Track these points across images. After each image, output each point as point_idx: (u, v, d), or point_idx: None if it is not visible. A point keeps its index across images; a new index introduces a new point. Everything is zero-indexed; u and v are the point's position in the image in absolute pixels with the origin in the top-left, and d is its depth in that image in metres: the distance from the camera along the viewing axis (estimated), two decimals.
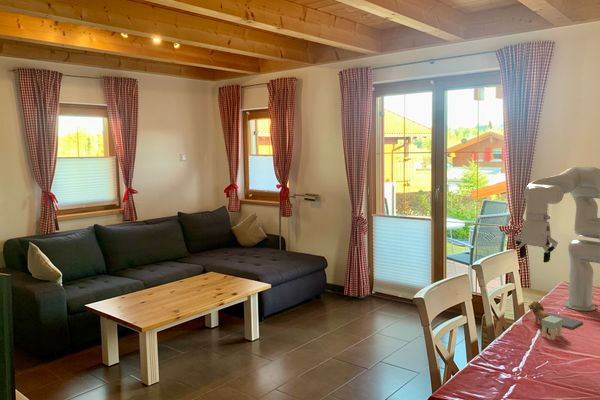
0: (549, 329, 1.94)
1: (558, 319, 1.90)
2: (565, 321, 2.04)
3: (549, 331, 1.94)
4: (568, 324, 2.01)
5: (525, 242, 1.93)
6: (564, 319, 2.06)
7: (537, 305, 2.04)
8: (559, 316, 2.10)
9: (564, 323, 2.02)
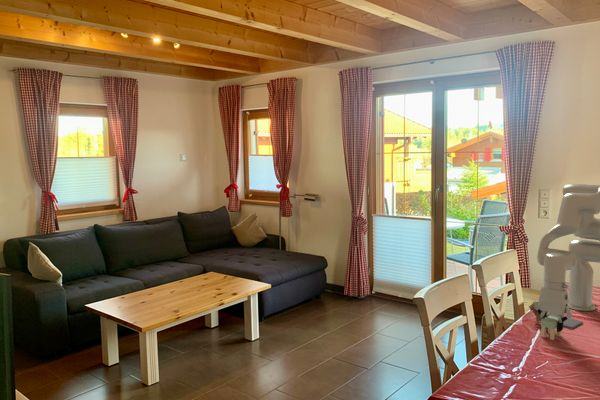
0: (549, 329, 1.94)
1: (557, 319, 1.90)
2: (565, 321, 2.04)
3: (549, 331, 1.94)
4: (568, 324, 2.01)
5: (543, 309, 1.91)
6: None
7: None
8: None
9: (564, 323, 2.02)
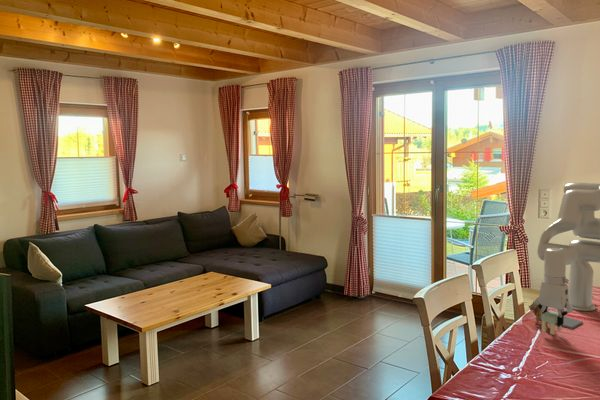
0: (549, 324, 1.94)
1: (558, 314, 1.90)
2: (565, 321, 2.04)
3: (549, 326, 1.94)
4: (568, 324, 2.01)
5: (543, 303, 1.92)
6: (564, 319, 2.06)
7: (537, 305, 2.04)
8: None
9: (564, 323, 2.02)
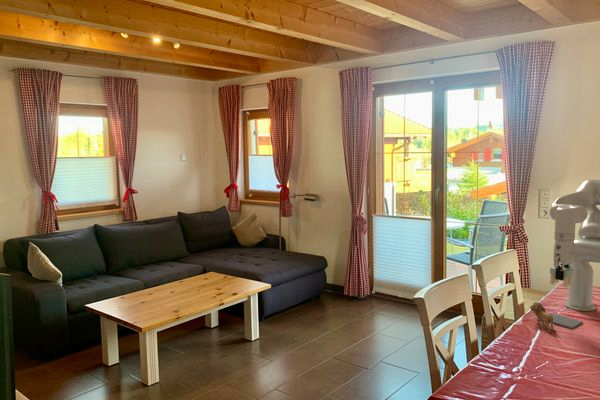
0: None
1: (563, 269, 2.02)
2: (565, 321, 2.04)
3: None
4: (568, 324, 2.01)
5: None
6: (564, 319, 2.06)
7: (539, 306, 2.03)
8: (559, 316, 2.10)
9: (564, 323, 2.02)
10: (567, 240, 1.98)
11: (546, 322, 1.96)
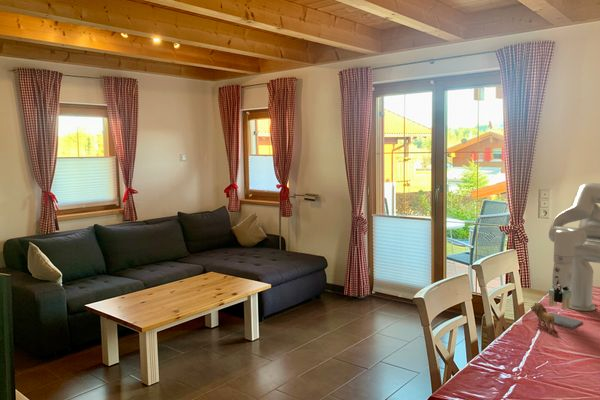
0: None
1: None
2: (565, 321, 2.04)
3: None
4: (568, 324, 2.01)
5: None
6: (564, 319, 2.06)
7: (540, 307, 2.02)
8: (559, 316, 2.10)
9: (564, 323, 2.02)
10: (566, 263, 2.00)
11: (547, 323, 1.96)
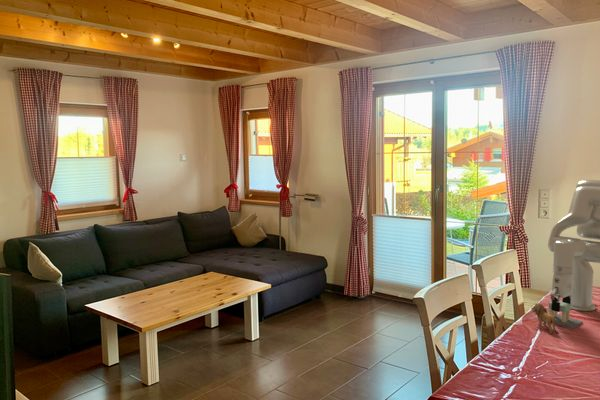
0: None
1: (561, 305, 2.04)
2: None
3: None
4: (568, 324, 2.01)
5: None
6: None
7: (540, 307, 2.02)
8: (559, 316, 2.10)
9: (564, 323, 2.02)
10: (565, 273, 2.00)
11: (548, 323, 1.95)
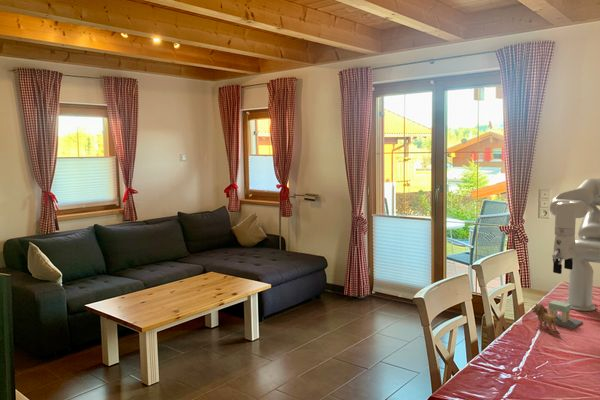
0: None
1: (561, 305, 2.04)
2: None
3: None
4: (568, 324, 2.01)
5: None
6: None
7: (541, 308, 2.01)
8: (559, 316, 2.10)
9: (564, 323, 2.02)
10: (567, 235, 1.98)
11: (549, 324, 1.94)
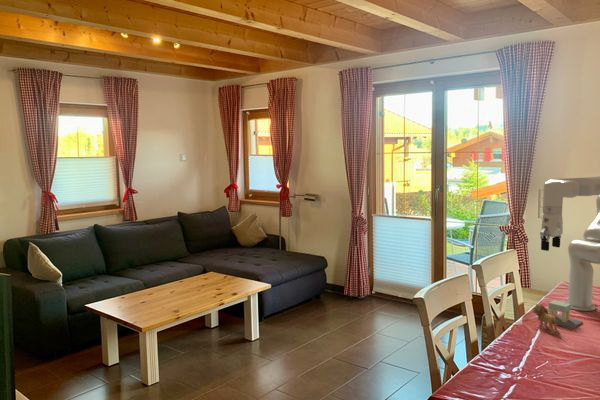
0: None
1: (561, 305, 2.04)
2: None
3: None
4: (568, 324, 2.01)
5: None
6: None
7: (541, 308, 2.01)
8: (559, 316, 2.10)
9: (564, 323, 2.02)
10: (554, 213, 2.05)
11: (550, 324, 1.94)
